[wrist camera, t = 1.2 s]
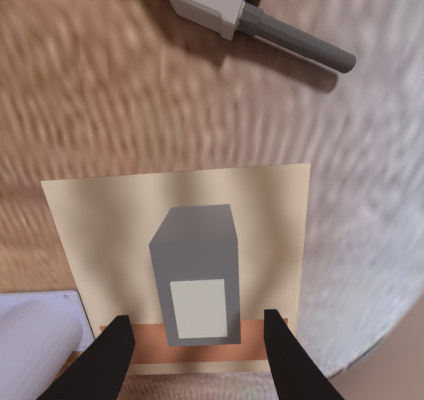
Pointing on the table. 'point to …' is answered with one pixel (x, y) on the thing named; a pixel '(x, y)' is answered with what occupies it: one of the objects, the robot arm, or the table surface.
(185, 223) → the block
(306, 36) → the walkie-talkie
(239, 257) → the subfloor panel
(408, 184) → the table surface
